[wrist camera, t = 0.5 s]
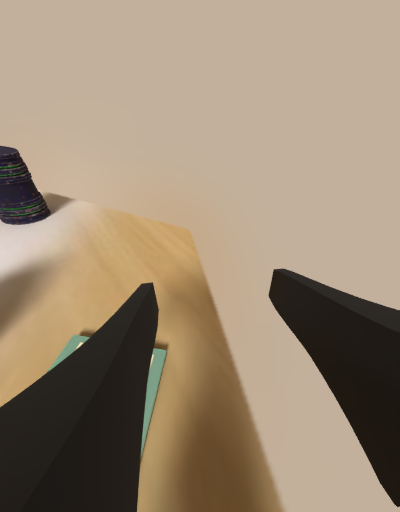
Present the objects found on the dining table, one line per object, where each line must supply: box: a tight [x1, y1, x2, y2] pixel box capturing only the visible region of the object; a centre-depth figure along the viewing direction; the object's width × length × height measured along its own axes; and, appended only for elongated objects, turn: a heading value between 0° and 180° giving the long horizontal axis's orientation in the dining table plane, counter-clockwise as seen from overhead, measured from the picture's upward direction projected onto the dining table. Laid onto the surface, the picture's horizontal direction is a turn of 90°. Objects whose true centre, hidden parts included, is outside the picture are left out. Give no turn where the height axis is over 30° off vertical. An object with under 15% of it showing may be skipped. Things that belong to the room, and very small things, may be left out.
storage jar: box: [0, 146, 50, 225], centre depth 37 cm, size 10×10×15 cm
